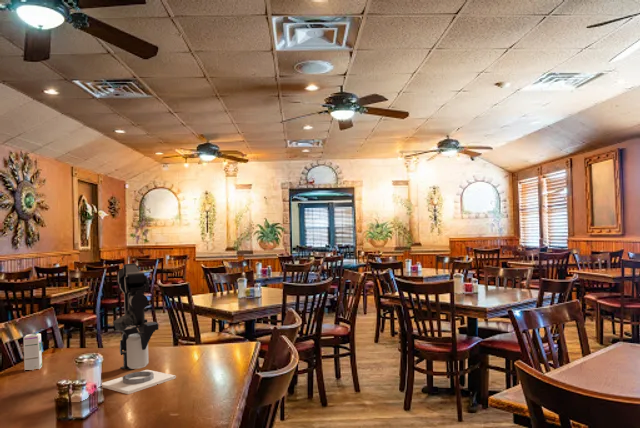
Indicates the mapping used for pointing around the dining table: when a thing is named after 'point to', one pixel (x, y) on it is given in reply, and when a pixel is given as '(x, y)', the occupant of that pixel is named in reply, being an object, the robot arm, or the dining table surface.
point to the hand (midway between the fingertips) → (137, 348)
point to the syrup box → (32, 351)
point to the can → (136, 352)
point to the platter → (137, 381)
